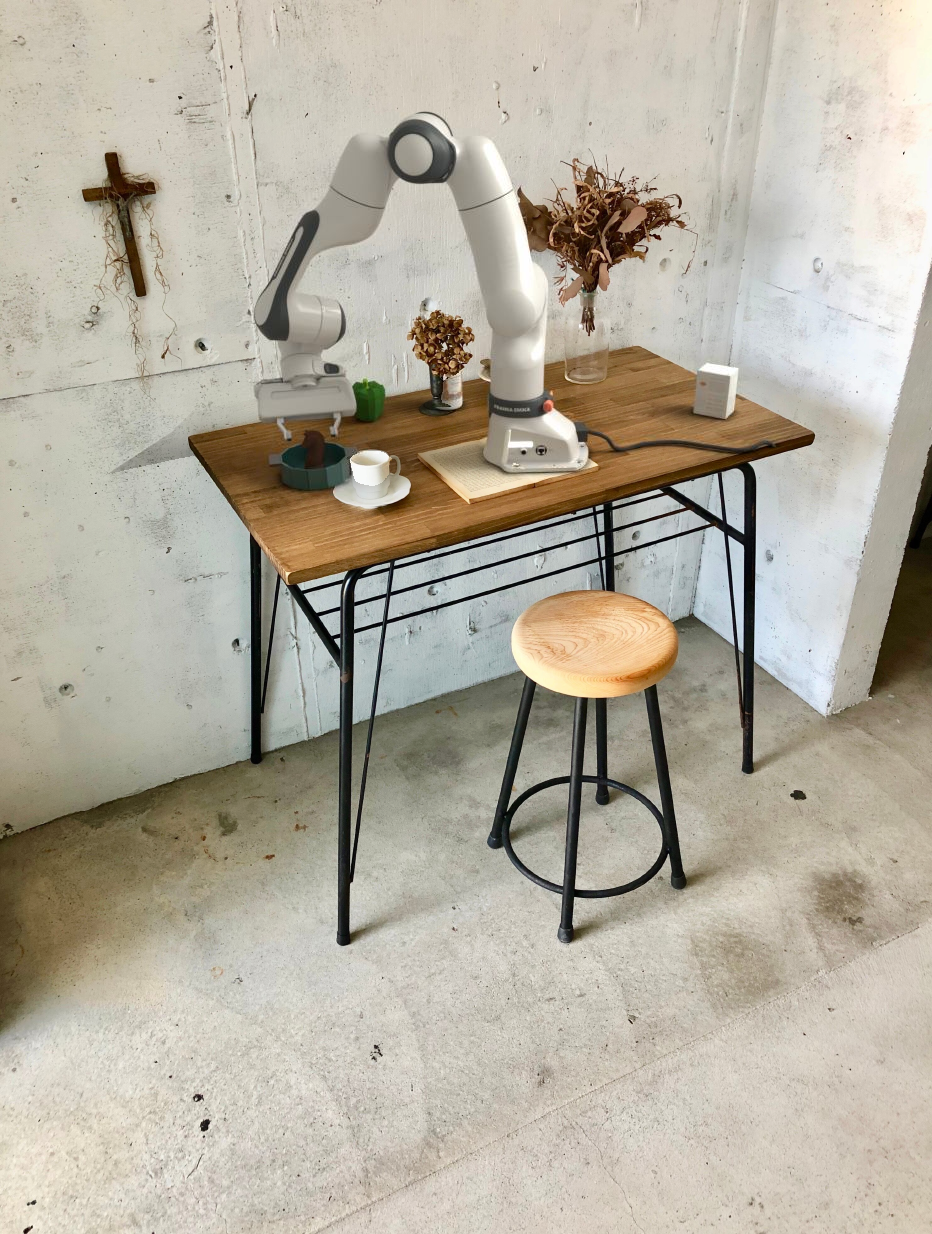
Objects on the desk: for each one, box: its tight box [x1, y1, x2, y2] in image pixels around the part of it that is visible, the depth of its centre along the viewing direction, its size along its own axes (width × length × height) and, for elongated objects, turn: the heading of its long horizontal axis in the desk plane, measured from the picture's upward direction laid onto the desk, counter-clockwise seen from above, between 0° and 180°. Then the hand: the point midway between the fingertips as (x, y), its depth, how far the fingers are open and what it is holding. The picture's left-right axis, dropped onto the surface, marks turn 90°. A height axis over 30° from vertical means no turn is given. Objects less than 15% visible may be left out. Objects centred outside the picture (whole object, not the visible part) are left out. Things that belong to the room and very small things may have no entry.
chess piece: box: [301, 429, 326, 469], centre depth 210 cm, size 5×5×10 cm
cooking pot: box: [268, 441, 359, 491], centre depth 211 cm, size 14×18×4 cm
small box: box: [692, 362, 740, 420], centre depth 233 cm, size 8×6×10 cm
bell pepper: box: [352, 378, 386, 423], centre depth 234 cm, size 8×8×10 cm
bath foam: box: [435, 370, 463, 411], centre depth 237 cm, size 7×7×20 cm
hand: (311, 438), depth 209 cm, fingers open, 8 cm apart
